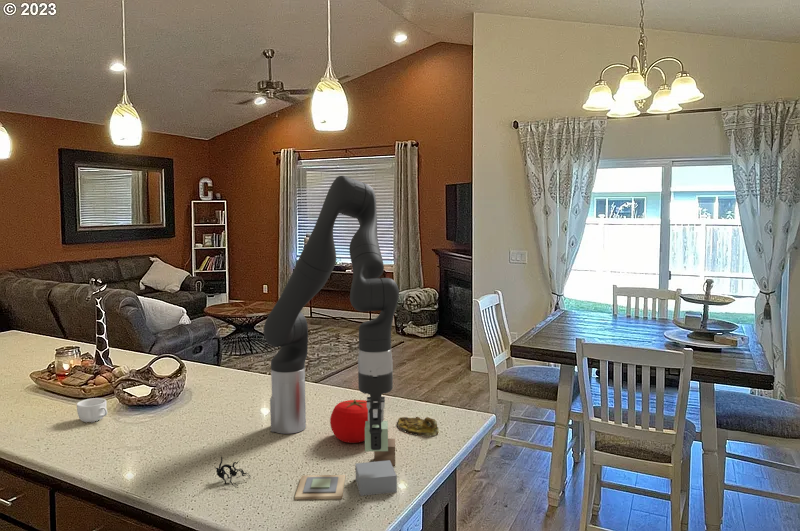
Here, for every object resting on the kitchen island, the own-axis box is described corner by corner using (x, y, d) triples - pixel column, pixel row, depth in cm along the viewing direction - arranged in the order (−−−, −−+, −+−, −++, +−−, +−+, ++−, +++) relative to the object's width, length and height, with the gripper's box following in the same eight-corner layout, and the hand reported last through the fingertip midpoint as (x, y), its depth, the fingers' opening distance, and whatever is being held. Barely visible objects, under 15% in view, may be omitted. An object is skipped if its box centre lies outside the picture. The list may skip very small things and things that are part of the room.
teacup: (71, 422, 170) (70, 404, 170) (94, 413, 177) (93, 396, 177) (95, 427, 166) (94, 409, 166) (118, 418, 173) (117, 400, 173)
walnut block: (374, 467, 140) (374, 446, 140) (374, 458, 145) (374, 438, 145) (395, 466, 140) (395, 446, 140) (395, 458, 145) (394, 438, 145)
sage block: (365, 451, 127) (364, 429, 127) (365, 442, 132) (365, 421, 132) (388, 451, 128) (387, 428, 127) (387, 442, 133) (387, 420, 132)
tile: (294, 499, 124) (294, 494, 124) (301, 477, 134) (301, 472, 134) (342, 498, 125) (342, 493, 125) (345, 477, 135) (345, 472, 134)
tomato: (321, 436, 159) (320, 398, 158) (360, 425, 167) (360, 389, 166) (349, 453, 148) (349, 413, 147) (390, 441, 156) (390, 402, 155)
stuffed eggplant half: (387, 430, 167) (427, 443, 157) (385, 414, 166) (426, 427, 156) (409, 418, 174) (449, 430, 164) (407, 403, 173) (447, 414, 163)
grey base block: (360, 496, 126) (360, 479, 126) (355, 480, 134) (355, 463, 134) (396, 493, 128) (396, 475, 127) (390, 477, 135) (389, 460, 135)
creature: (251, 477, 138) (217, 471, 137) (256, 455, 137) (222, 449, 136) (246, 493, 130) (209, 487, 129) (250, 470, 129) (214, 464, 129)
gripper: (359, 361, 135) (360, 432, 137) (356, 378, 121) (357, 458, 123) (392, 360, 136) (392, 431, 137) (392, 378, 121) (393, 457, 123)
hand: (376, 443), depth 130 cm, fingers closed on sage block, 5 cm apart
